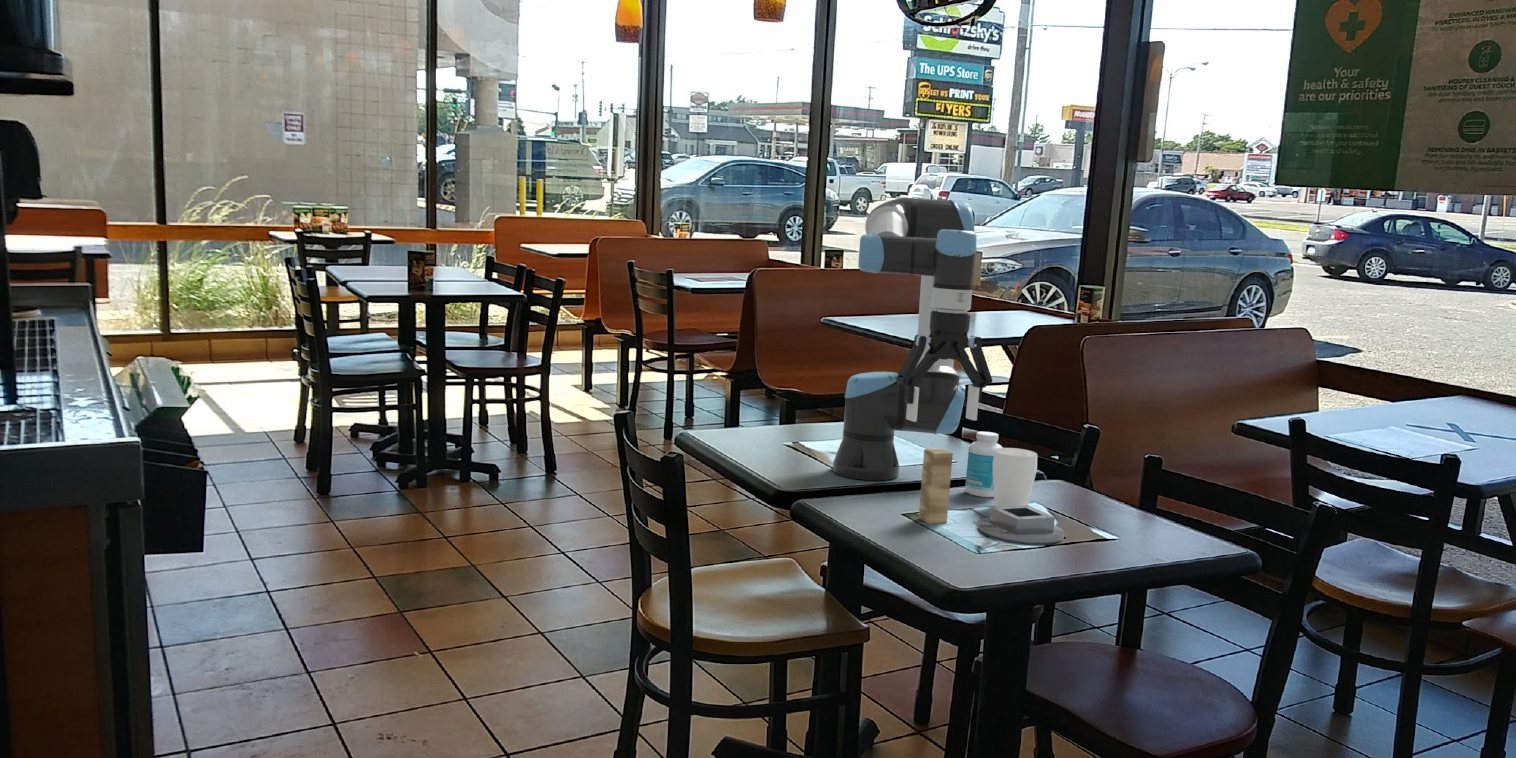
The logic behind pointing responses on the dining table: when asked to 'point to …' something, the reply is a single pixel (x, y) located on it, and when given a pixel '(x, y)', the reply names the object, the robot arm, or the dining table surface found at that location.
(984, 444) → the pill bottle
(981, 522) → the square tray on disc
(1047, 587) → the dining table surface
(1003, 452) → the cup
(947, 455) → the tan wooden block
